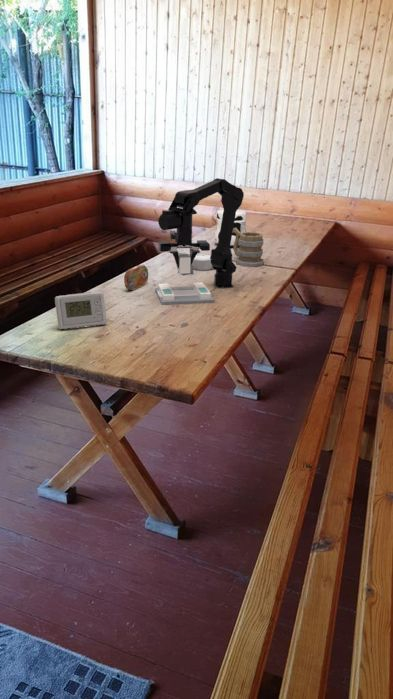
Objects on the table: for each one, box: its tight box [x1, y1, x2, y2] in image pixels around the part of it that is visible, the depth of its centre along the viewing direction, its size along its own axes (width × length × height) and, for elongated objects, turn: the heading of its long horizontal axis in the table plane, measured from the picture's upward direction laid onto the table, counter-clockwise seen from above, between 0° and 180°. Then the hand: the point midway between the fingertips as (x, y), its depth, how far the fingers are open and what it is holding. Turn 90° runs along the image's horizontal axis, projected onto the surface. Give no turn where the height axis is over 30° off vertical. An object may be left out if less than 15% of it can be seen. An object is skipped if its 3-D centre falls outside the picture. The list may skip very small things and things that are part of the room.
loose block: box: [177, 265, 194, 276], centre depth 243 cm, size 5×5×4 cm
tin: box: [123, 264, 149, 291], centre depth 221 cm, size 15×3×8 cm, turn 154°
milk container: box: [213, 208, 247, 248], centre depth 293 cm, size 17×17×18 cm
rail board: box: [154, 281, 215, 306], centre depth 213 cm, size 20×18×3 cm
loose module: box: [176, 253, 191, 275], centre depth 208 cm, size 4×6×6 cm, turn 11°
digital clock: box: [54, 291, 108, 330], centre depth 180 cm, size 16×9×11 cm, turn 101°
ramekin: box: [192, 253, 213, 271], centre depth 251 cm, size 11×11×5 cm
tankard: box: [232, 228, 264, 268], centre depth 262 cm, size 20×13×15 cm, turn 34°
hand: (183, 268), depth 209 cm, fingers closed on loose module, 4 cm apart
